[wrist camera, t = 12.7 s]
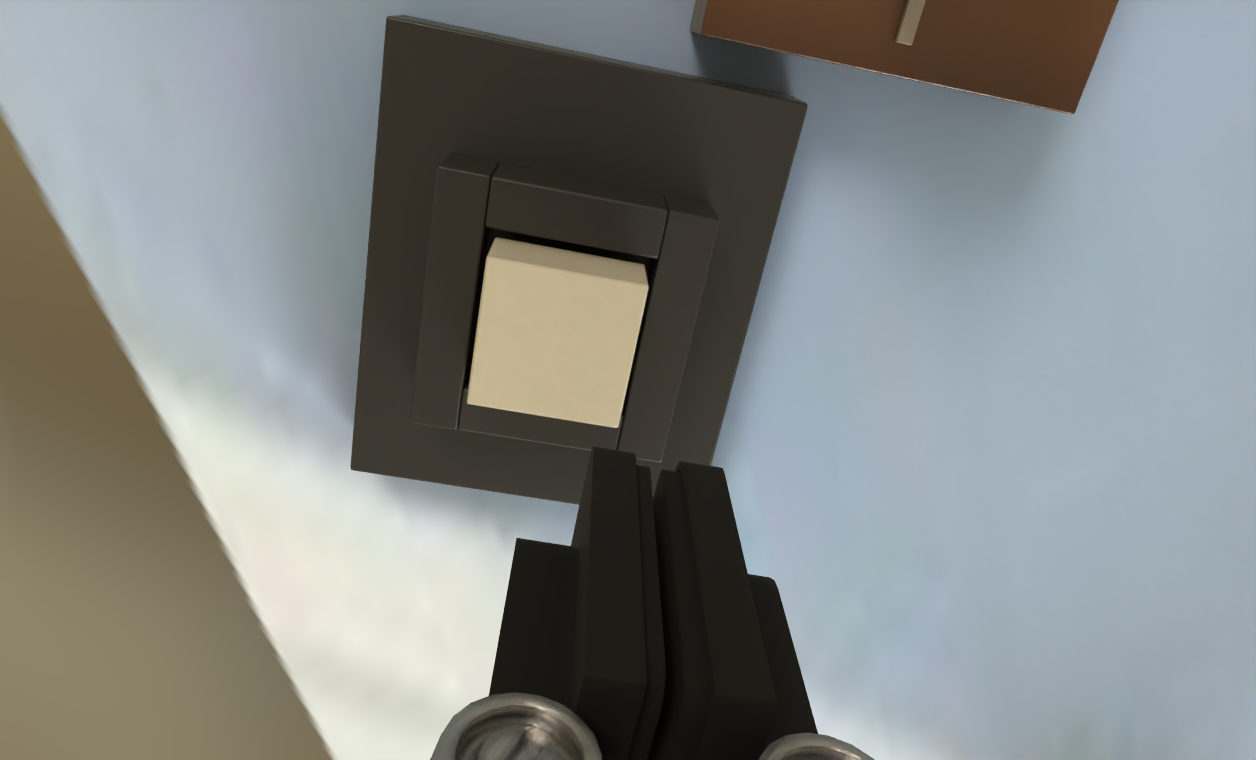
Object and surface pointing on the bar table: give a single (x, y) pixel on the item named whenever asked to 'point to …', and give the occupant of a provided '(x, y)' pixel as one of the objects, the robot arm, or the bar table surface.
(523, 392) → the key
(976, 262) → the bar table surface
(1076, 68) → the control panel
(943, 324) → the bar table surface
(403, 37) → the square rocker plate
